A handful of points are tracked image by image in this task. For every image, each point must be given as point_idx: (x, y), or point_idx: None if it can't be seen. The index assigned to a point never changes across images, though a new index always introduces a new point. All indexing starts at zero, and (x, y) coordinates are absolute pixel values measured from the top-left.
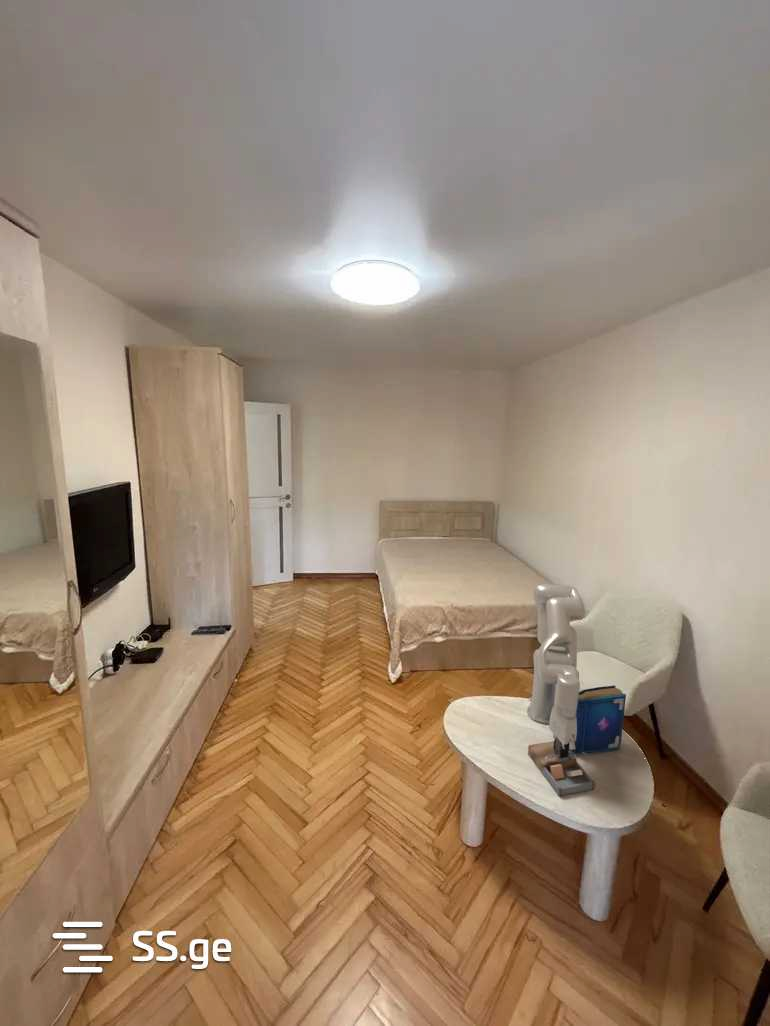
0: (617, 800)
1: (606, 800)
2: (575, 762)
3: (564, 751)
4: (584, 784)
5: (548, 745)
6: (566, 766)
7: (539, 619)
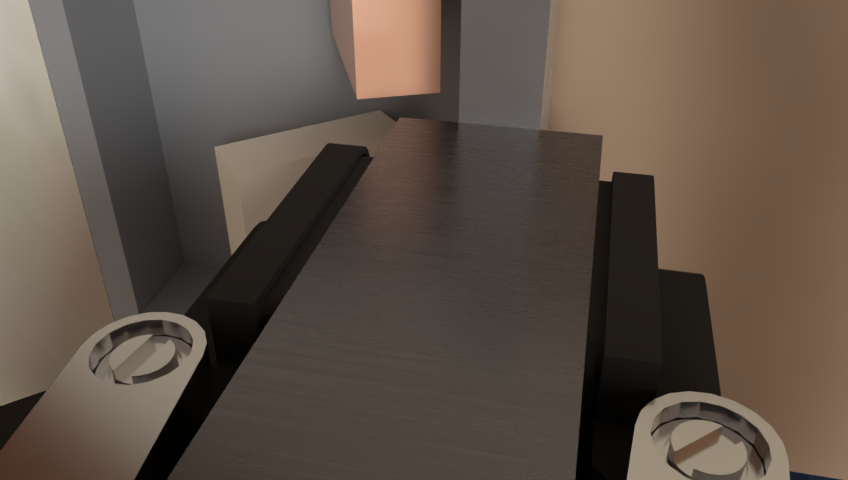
0: (56, 370)
1: (47, 285)
2: None
3: (191, 306)
4: (84, 196)
5: None
6: None
7: None
